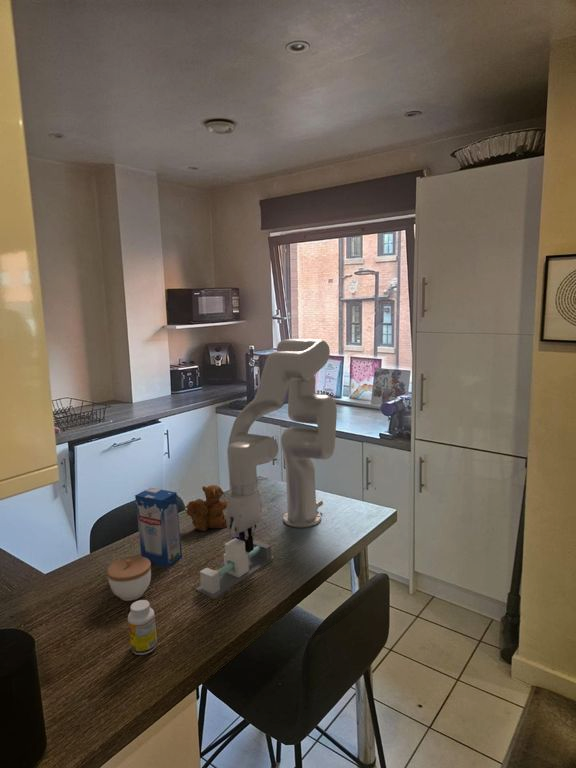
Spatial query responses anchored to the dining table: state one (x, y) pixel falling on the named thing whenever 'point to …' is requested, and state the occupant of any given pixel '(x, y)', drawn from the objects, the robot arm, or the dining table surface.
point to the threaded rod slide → (220, 579)
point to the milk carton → (159, 526)
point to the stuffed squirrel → (208, 509)
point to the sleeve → (236, 557)
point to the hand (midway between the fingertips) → (247, 550)
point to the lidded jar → (129, 577)
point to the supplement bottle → (142, 628)
